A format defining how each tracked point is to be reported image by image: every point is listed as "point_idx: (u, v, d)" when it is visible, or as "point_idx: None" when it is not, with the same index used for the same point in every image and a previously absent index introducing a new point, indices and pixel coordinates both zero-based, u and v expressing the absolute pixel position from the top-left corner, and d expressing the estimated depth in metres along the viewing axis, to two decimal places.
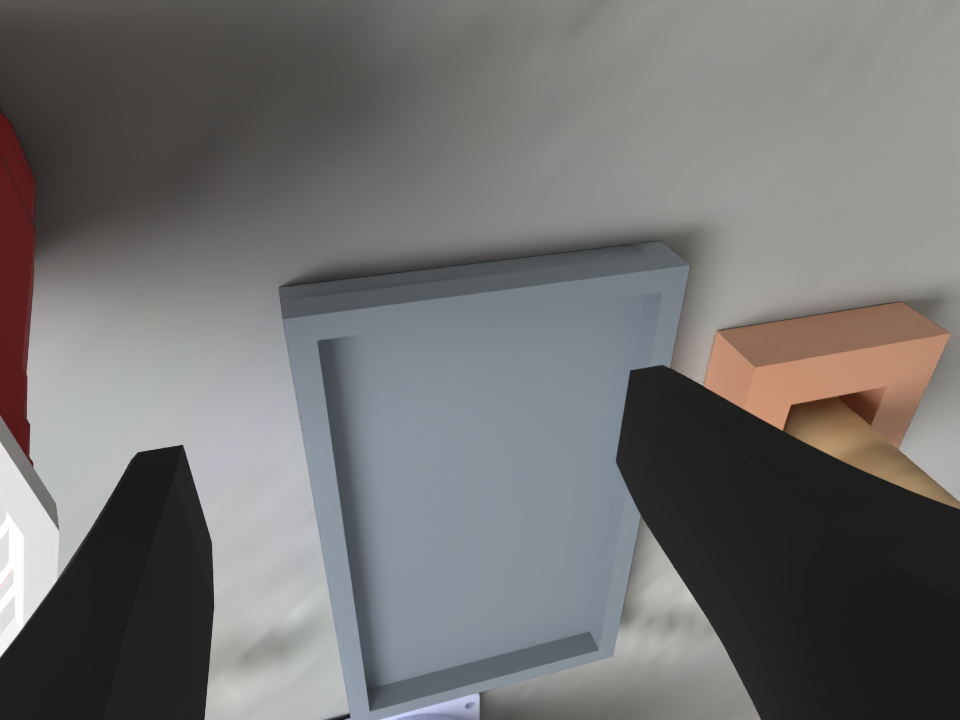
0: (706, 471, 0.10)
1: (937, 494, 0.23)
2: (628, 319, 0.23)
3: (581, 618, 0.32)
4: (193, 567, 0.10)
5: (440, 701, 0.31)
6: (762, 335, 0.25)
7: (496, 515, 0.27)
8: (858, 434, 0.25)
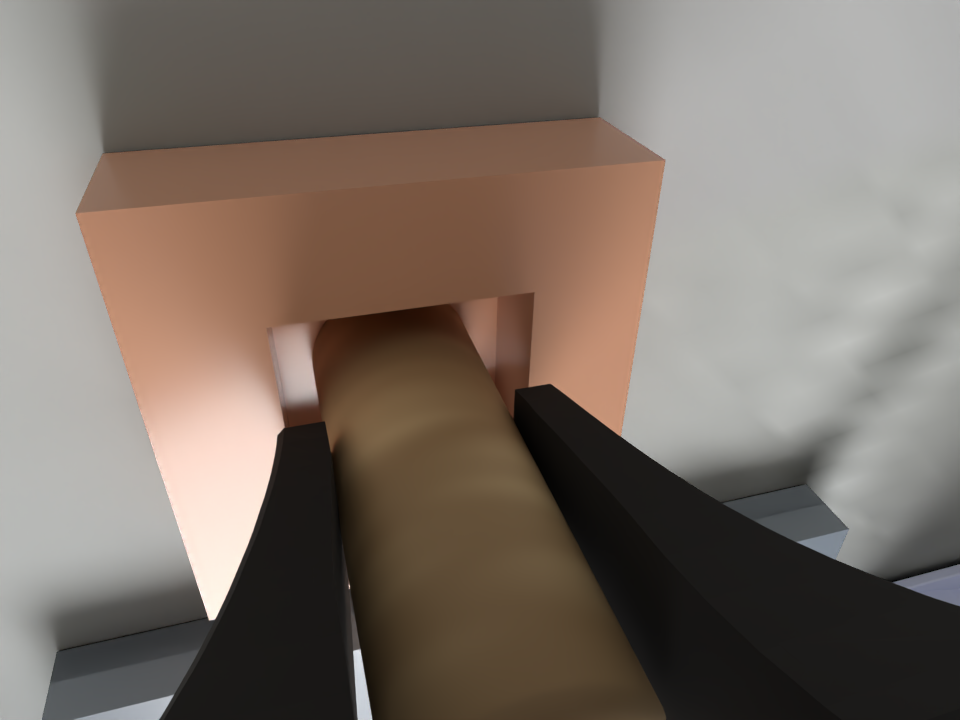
0: (575, 498, 0.09)
1: (365, 677, 0.08)
2: None
3: None
4: (341, 537, 0.10)
5: None
6: None
7: None
8: None
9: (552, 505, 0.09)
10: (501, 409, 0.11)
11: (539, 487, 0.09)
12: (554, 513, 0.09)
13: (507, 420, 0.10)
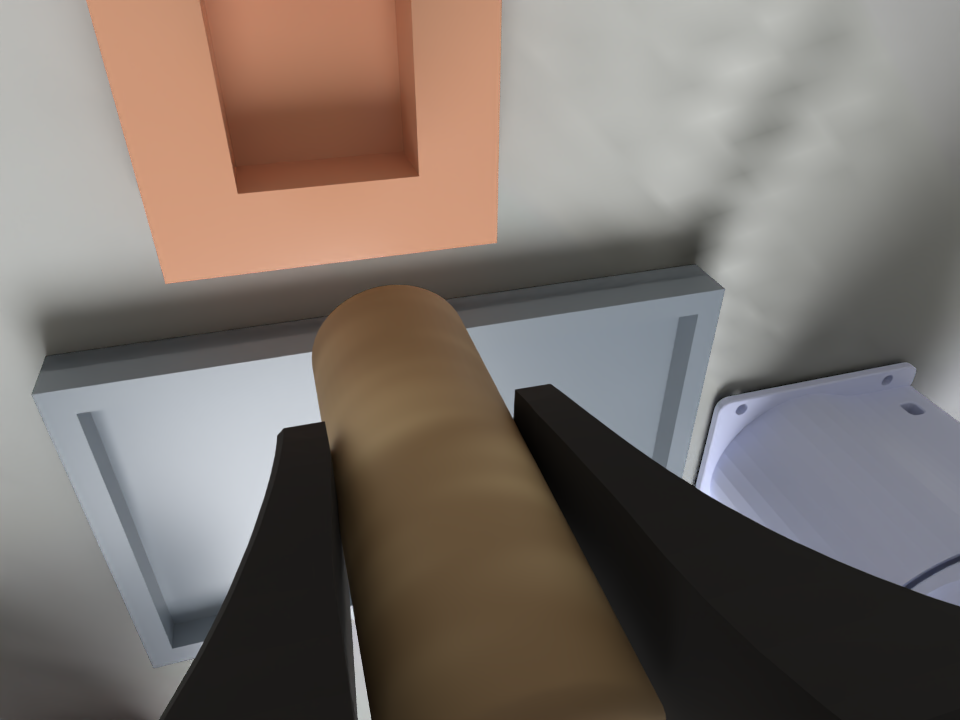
0: (575, 498, 0.09)
1: (364, 675, 0.08)
2: None
3: None
4: None
5: (678, 476, 0.27)
6: None
7: None
8: None
9: (552, 503, 0.09)
10: (501, 407, 0.11)
11: (539, 485, 0.09)
12: (554, 511, 0.09)
13: (507, 418, 0.10)
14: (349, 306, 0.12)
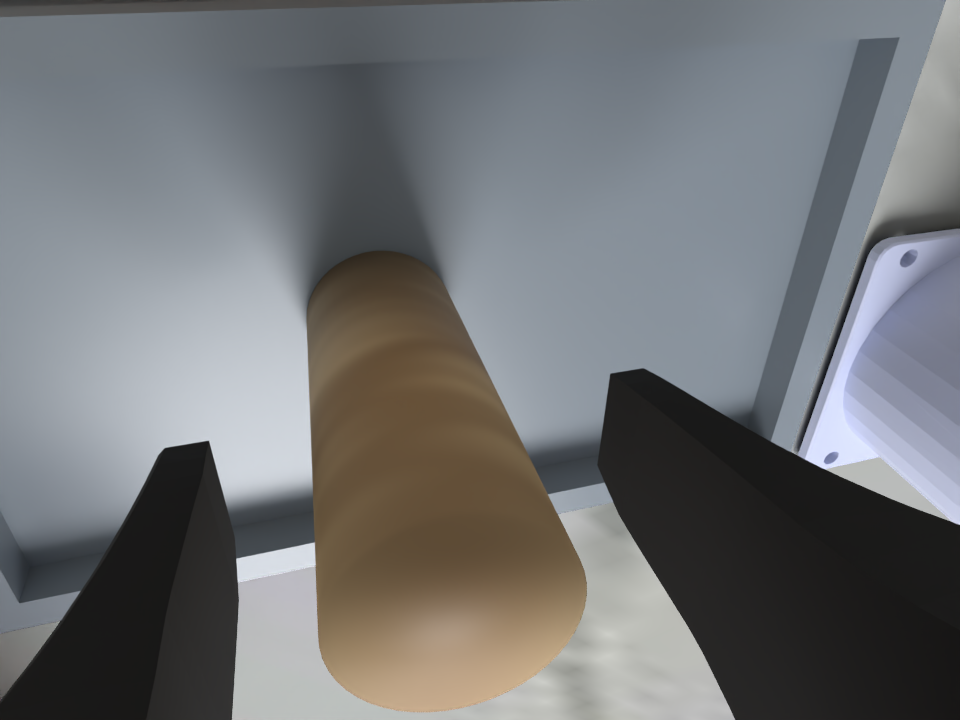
0: (683, 476, 0.10)
1: None
2: None
3: (805, 59, 0.14)
4: (220, 562, 0.10)
5: (819, 353, 0.18)
6: None
7: None
8: None
9: (499, 408, 0.10)
10: (465, 341, 0.12)
11: (489, 393, 0.10)
12: (499, 412, 0.10)
13: (470, 349, 0.11)
14: (339, 268, 0.14)
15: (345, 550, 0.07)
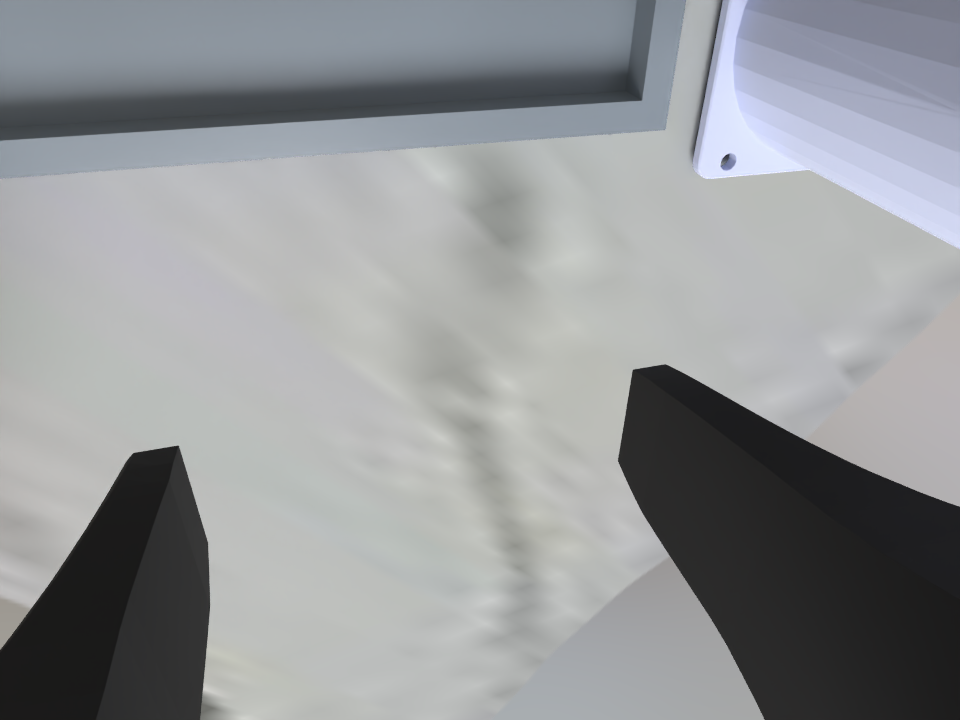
0: (709, 470, 0.10)
1: None
2: None
3: None
4: (189, 568, 0.09)
5: None
6: None
7: None
8: None
9: None
10: None
11: None
12: None
13: None
14: None
15: None
